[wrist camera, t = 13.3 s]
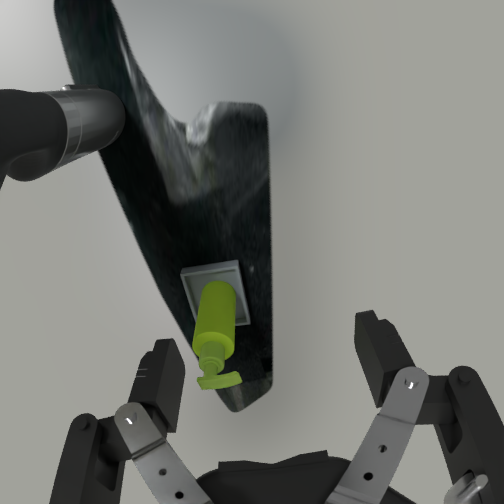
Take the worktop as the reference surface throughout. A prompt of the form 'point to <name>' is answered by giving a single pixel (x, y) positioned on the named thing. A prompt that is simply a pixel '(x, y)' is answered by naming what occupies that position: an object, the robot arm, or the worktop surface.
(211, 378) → the soap dispenser
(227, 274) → the tray
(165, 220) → the worktop surface
